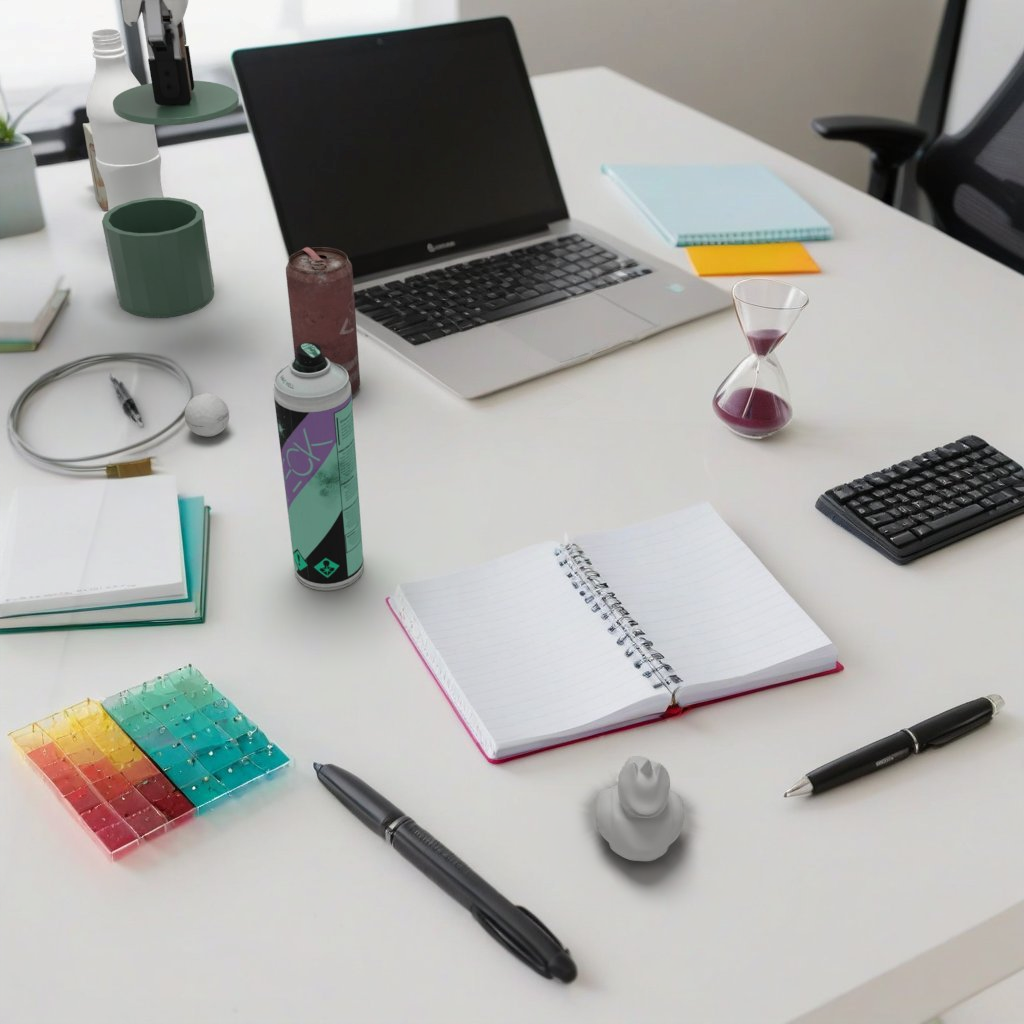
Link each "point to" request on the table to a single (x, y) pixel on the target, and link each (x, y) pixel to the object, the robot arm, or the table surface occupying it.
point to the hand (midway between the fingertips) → (175, 95)
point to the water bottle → (120, 128)
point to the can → (324, 306)
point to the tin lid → (202, 107)
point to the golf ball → (206, 414)
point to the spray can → (319, 469)
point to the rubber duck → (640, 811)
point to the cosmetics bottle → (95, 169)
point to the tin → (159, 256)
